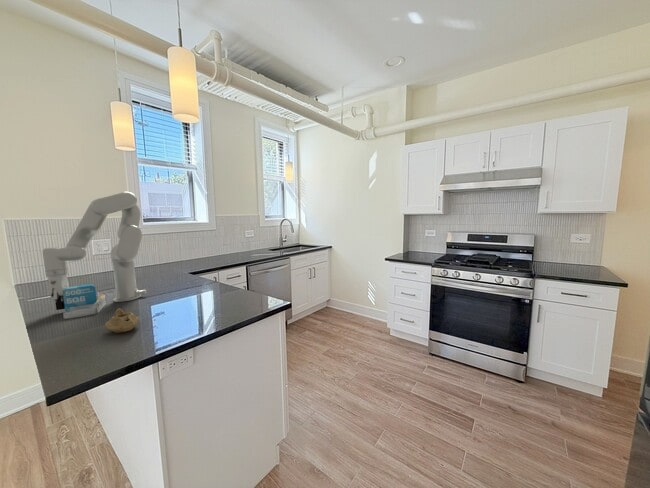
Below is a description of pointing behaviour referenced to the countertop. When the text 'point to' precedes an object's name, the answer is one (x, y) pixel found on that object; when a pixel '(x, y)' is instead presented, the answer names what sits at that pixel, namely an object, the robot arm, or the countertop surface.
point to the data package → (79, 296)
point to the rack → (86, 309)
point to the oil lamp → (122, 321)
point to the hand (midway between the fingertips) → (61, 308)
